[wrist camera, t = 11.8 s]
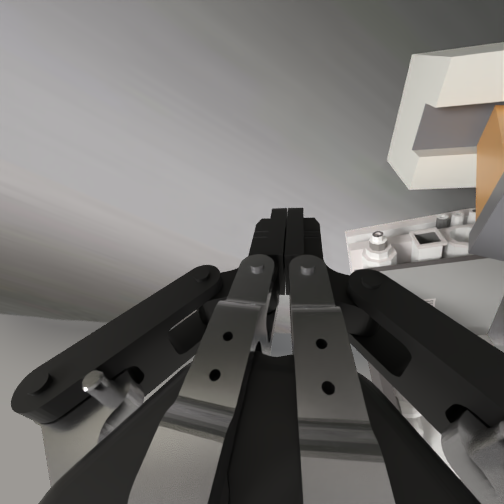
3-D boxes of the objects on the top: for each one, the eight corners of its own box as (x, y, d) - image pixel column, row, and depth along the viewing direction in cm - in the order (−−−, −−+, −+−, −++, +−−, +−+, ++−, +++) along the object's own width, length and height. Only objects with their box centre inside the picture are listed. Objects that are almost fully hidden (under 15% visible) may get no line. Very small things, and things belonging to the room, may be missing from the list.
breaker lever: (494, 100, 19) (510, 182, 9) (526, 100, 18) (580, 189, 8) (473, 148, 21) (468, 253, 12) (500, 150, 20) (519, 265, 11)
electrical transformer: (354, 296, 45) (391, 472, 27) (342, 211, 35) (391, 407, 16) (453, 287, 40) (587, 496, 22) (477, 183, 29) (789, 426, 11)
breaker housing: (412, 54, 23) (451, 56, 17) (553, 35, 21) (656, 30, 15) (386, 160, 29) (409, 189, 23) (493, 154, 27) (548, 184, 21)
